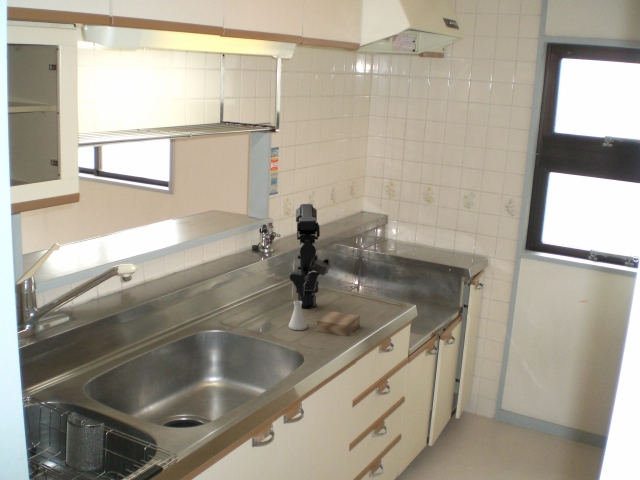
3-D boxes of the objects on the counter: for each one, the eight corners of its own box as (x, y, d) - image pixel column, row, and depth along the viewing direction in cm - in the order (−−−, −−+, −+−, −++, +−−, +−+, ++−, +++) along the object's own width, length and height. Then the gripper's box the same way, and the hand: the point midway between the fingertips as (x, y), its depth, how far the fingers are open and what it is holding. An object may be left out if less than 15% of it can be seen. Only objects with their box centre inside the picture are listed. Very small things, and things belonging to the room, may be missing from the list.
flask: (293, 332, 256) (293, 306, 254) (285, 326, 262) (285, 300, 260) (311, 329, 259) (311, 303, 257) (302, 323, 265) (302, 298, 263)
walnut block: (317, 330, 257) (317, 320, 256) (331, 321, 267) (331, 311, 267) (346, 335, 252) (346, 325, 251) (359, 325, 262) (359, 315, 261)
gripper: (316, 260, 244) (316, 303, 247) (337, 249, 261) (337, 289, 264) (288, 257, 249) (288, 299, 252) (310, 246, 265) (310, 286, 268)
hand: (307, 293), depth 259 cm, fingers open, 9 cm apart
